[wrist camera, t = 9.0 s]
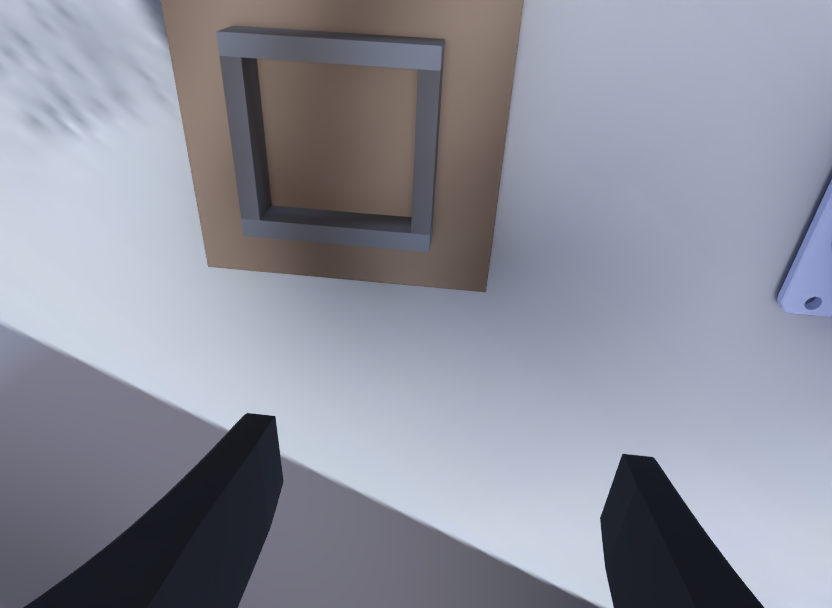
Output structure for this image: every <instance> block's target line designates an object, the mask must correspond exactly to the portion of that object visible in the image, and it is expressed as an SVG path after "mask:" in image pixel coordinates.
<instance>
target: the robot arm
mask: <svg viewBox="0 0 832 608" xmlns="http://www.w3.org/2000/svg"><path fill="white" fill-rule="evenodd" d="M811 297H816V298H815V299H814V301H812V302H810V303H806V304H805V302H806V301H807V300H808V299H809V298H811ZM777 301H778V304H779V305H780V307H781V308H782V309H783V310H784V311H785V312H788V313H792V314H803V315H814V316H825V317H832V180H831V182H830V184H829V186H828V188H827V190H826V193H825V195H824V197H823V199H822V201H821V203H820V206H819V208H818V210H817V212H816V214H815V216H814V219H813V221H812V223H811V225H810V227H809V229H808V232H807V234H806V236H805V238H804V240H803V243H802V245H801V247H800V249H799V251H798V253H797V256H796V258H795V260H794V262H793V264H792V266H791V269H790V271H789V273H788V275H787V277H786V279H785V282H784V284H783V286H782V288H781V290H780V292H779V295H778V299H777ZM282 485H283V475H282V466H281V459H280V450H279V442H278V434H277V426H276V418H275V416H269V415H260V414H251V413H247V414H245V415H244V416H243V417H242V418H241V419H240V420H239V421H238V422H237V423H236V424H235V425H234V426H233V427H232V428H231V429H230V431H229V432H228V433H227V434H226V435H225V436H224V437H223V438H222V439H221V440H220V441H219V442H218V443H217V444H216V445H215V447H214V448H213V449H212V450H211V451H210V452H209V453H208V454H207V455H206V456H205V457H204V458H203V459H202V460H201V461H200V462H199V463H198V464H197V465H196V466H195V467H194V468H193V469H192V470H191V471H190V472H189V473H188V474H187V475H186V476H185V477H184V478H183V479H181V480H180V482H178V483H177V484H176V486H174V487H173V488H172V489H171V490H170V491H169V492H168V493H167V494H166V495H165V496H164V497H163V498H162V499H160V500H159V501H158V502H157V503H156V504H155V505H154V506H153V507H152V508H150V509H149V510H148V511H147V512H146V513H145V514H144V515H143V516H142V517H141V518H139V519H138V520H137V521H136V522H135V523H134V524H133V525H132V526H130V527H129V528H128V529H127V530H126V531H124V532H123V533H122V534H121V535H120V536H118V537H117V538H116V539H115V540H114V541H112V542H111V543H110V544H109V545H107V546H106V547H105V548H104V549H103V550H101V551H100V552H99V553H97V554H96V555H95V556H94V557H92V558H91V559H90V560H89V561H87V562H86V563H85V564H83V565H82V566H81V567H79V568H78V569H77V570H75V571H74V572H73V573H71V574H70V575H69V576H67V577H66V578H64V579H63V580H62V581H60V582H59V583H58V584H56V585H55V586H54V587H52V588H51V589H49V590H48V591H47V592H45V593H44V594H42V595H41V596H40V597H38V598H37V599H35V600H34V601H32V602H31V603H29V604H28V605H27V606H25V607H24V608H238V605H239V603H240V600H241V598H242V596H243V593H244V591H245V588H246V586H247V584H248V581H249V579H250V576H251V574H252V572H253V569H254V567H255V564H256V562H257V559H258V557H259V554H260V552H261V550H262V547H263V544H264V542H265V540H266V537H267V535H268V532H269V530H270V527H271V524H272V520H273V517H274V513H275V510H276V507H277V503H278V499H279V495H280V492H281V488H282ZM600 520H601V531H602V542H603V551H604V560H605V569H606V573H607V578H608V583H609V587H610V592H611V597H612V601H613V606H614V608H764V607H763V605H762V604H761V603H760V602H759V601H758V599H757V598H756V597H755V596H754V594H753V593H752V592H751V591H750V589H749V588H748V587H747V586H746V585H745V583H744V582H743V581H742V580H741V578H740V577H739V576H738V574H737V573H736V572H735V571H734V569H733V568H732V567H731V565H730V564H729V563H728V561H727V560H726V559H725V557H724V556H723V555H722V553H721V552H720V551H719V549H718V548H717V547H716V545H715V544H714V543H713V541H712V540H711V539H710V537H709V536H708V535H707V533H706V532H705V531H704V529H703V528H702V526H701V525H700V524H699V522H698V521H697V519H696V518H695V516H694V515H693V514H692V512H691V511H690V509H689V508H688V506H687V505H686V504H685V502H684V501H683V499H682V498H681V496H680V495H679V493H678V492H677V491H676V489H675V488H674V486H673V485H672V483H671V482H670V480H669V479H668V477H667V476H666V474H665V473H664V471H663V470H662V468H661V467H660V465H659V464H658V463H657V461H656V460H655V459H654V457H647V456H638V455H628V454H622V457H621V460H620V463H619V465H618V468H617V471H616V474H615V477H614V480H613V483H612V486H611V489H610V491H609V494H608V497H607V500H606V503H605V506H604V509H603V512H602V515H601V517H600Z"/></svg>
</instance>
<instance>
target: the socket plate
mask: <svg viewBox="0 0 832 608" xmlns="http://www.w3.org/2000/svg"><path fill="white" fill-rule="evenodd" d="M161 4H162V10H163V16H164V21H165V27H166V32H167V38H168V44H169V49H170V55H171V61H172V66H173V72H174V77H175V83H176V89H177V94H178V100H179V105H180V111H181V117H182V122H183V128H184V134H185V139H186V145H187V150H188V156H189V162H190V167H191V173H192V178H193V184H194V190H195V195H196V201H197V207H198V212H199V218H200V223H201V229H202V235H203V240H204V246H205V251H206V257H207V263H208V267H218V268H229V269H239V270H250V271H261V272H272V273H283V274H294V275H305V276H316V277H326V278H337V279H348V280H359V281H370V282H381V283H392V284H403V285H413V286H424V287H435V288H446V289H457V290H468V291H479V292H486V286H487V279H488V271H489V263H490V255H491V248H492V240H493V232H494V225H495V217H496V209H497V201H498V194H499V186H500V178H501V170H502V163H503V155H504V147H505V140H506V132H507V124H508V116H509V109H510V101H511V93H512V85H513V78H514V70H515V62H516V55H517V47H518V39H519V31H520V24H521V16H522V8H523V0H161Z"/></svg>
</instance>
